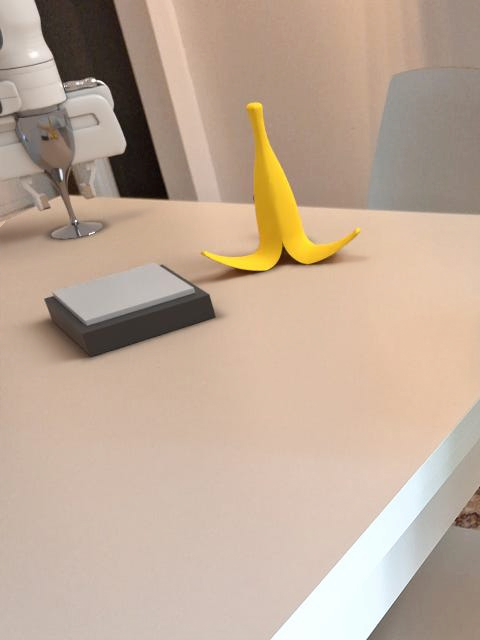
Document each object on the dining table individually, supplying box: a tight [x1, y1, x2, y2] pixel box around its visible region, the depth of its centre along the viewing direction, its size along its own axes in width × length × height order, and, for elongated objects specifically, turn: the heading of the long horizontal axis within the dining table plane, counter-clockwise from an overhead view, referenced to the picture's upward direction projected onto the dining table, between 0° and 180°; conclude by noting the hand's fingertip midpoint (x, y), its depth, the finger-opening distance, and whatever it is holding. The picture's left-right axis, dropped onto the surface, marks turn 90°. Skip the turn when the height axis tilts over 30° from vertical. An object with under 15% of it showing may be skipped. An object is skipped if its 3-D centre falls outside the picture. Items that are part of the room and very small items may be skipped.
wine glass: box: [14, 108, 104, 240], centre depth 125 cm, size 8×8×15 cm
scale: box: [43, 262, 216, 358], centre depth 101 cm, size 14×14×3 cm
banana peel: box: [200, 102, 362, 272], centre depth 108 cm, size 17×19×17 cm
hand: (67, 203), depth 128 cm, fingers closed on wine glass, 5 cm apart
